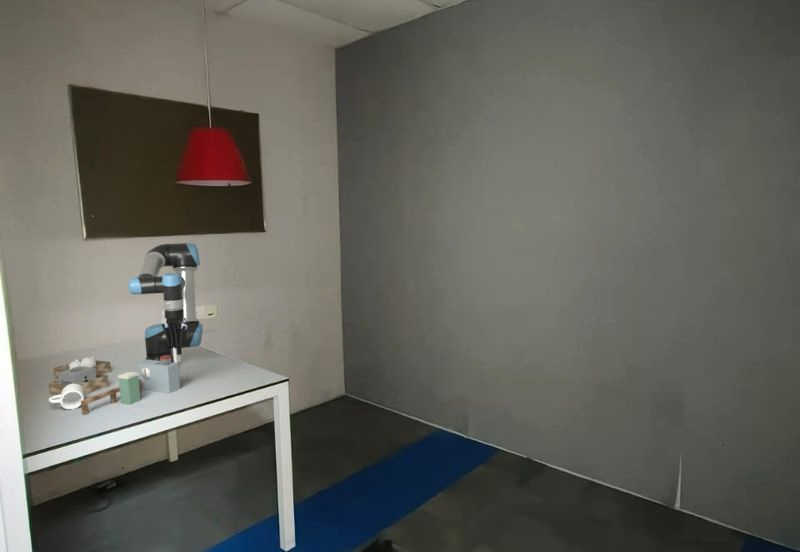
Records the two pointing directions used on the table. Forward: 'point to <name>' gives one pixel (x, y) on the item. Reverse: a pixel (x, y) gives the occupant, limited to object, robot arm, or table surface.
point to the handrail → (112, 396)
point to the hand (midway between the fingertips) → (177, 361)
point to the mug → (69, 396)
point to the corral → (88, 386)
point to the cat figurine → (83, 363)
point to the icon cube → (77, 375)
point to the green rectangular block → (129, 388)
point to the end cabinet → (158, 376)
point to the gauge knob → (165, 359)
